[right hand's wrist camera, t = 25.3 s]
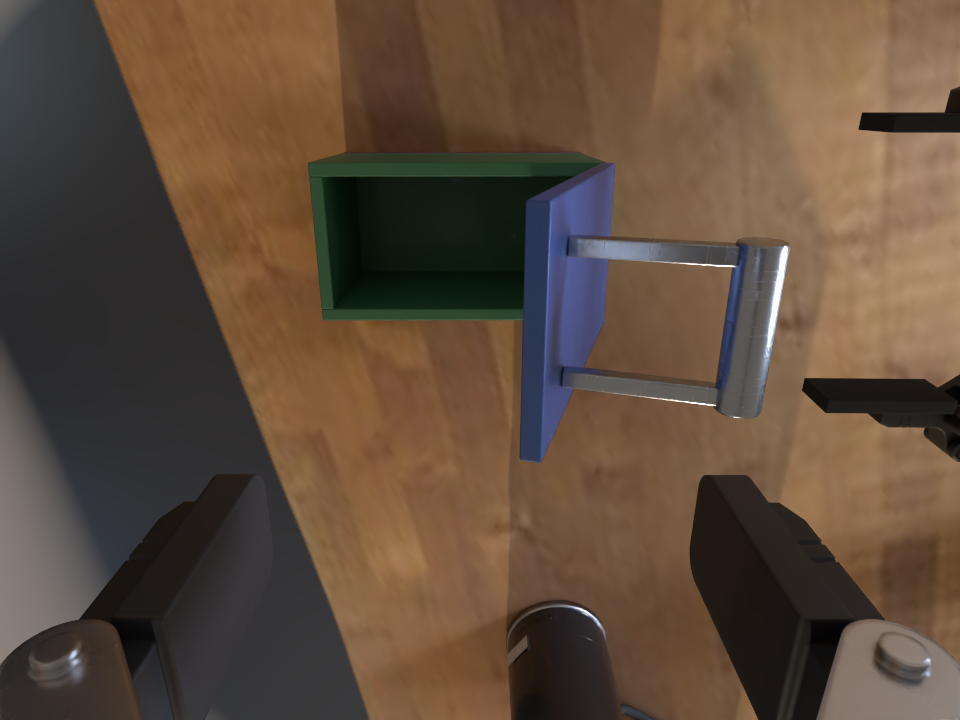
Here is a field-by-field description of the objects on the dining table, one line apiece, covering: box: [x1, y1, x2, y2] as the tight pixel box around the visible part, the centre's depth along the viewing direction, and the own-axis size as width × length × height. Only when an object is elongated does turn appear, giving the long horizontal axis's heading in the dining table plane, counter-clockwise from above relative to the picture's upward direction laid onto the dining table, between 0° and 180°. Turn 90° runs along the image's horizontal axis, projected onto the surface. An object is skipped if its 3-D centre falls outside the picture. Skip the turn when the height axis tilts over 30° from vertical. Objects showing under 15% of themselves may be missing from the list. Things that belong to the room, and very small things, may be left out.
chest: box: [308, 152, 606, 320], centre depth 41 cm, size 16×9×10 cm, turn 90°
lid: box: [520, 163, 790, 463], centre depth 27 cm, size 17×9×8 cm
